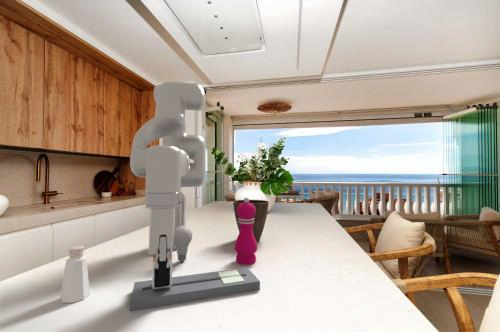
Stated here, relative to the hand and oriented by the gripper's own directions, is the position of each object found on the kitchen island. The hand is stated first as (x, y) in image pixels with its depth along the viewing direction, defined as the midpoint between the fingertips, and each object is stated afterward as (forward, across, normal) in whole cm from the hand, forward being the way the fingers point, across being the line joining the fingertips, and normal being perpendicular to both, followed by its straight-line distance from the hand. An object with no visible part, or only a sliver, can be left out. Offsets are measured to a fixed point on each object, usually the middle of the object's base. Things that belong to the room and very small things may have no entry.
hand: (162, 280), depth 56 cm
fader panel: (+3, 0, +8) cm, 9 cm away
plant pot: (+3, -38, +35) cm, 51 cm away
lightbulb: (+3, -20, +6) cm, 22 cm away
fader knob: (+1, 0, 0) cm, 1 cm away
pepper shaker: (+3, -6, -18) cm, 19 cm away
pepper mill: (+3, -14, +25) cm, 29 cm away
